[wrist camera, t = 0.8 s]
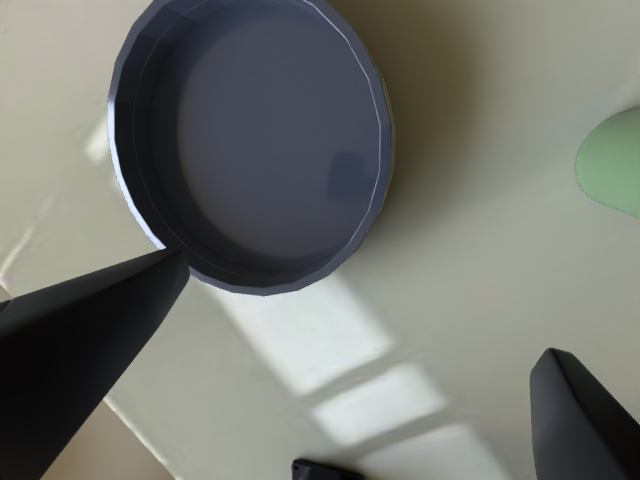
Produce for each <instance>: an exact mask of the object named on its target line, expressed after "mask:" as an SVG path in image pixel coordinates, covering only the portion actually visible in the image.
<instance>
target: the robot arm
mask: <svg viewBox="0 0 640 480" xmlns="http://www.w3.org/2000/svg"><path fill="white" fill-rule="evenodd" d="M189 277H190V271H189V266H188V261H187V256H186V253H185V252H184V251H183V250H181V249H178V248H174V247H167V248H164V249H161V250H158V251H155V252H152V253H149V254H146V255H143V256H140V257H137V258H134V259H131V260H128V261H125V262H122V263H119V264H116V265H113V266H110V267H107V268H104V269H101V270H98V271H95V272H92V273H89V274H86V275H82V276H79V277H76V278H73V279H70V280H67V281H64V282H61V283H58V284H55V285H52V286H49V287H46V288H43V289H40V290H37V291H34V292H31V293H28V294H25V295H22V296H19V297H16V298H14V299H12V300H7V301H4V302H1V303H0V480H40V479H41V477H42V476H43V475H44V473H45V472H46V471H47V470H48V468H49V467H50V466H51V465H52V463H53V462H54V461H55V459H56V458H57V457H58V456H59V454H60V453H61V452H62V450H63V449H64V448H65V447H66V445H67V444H68V443H69V442H70V440H71V439H72V437H73V436H74V435H75V434H76V433H77V431H78V430H79V429H80V427H81V426H82V425H83V424H84V422H85V421H86V420H87V418H88V417H89V416H90V415H91V413H92V412H93V411H94V410H95V408H96V407H97V406H98V404H99V403H100V402H101V401H102V399H103V398H104V397H105V396H106V394H107V393H108V392H109V390H110V389H111V388H112V387H113V385H114V384H115V383H116V382H117V380H118V379H119V378H120V376H121V375H122V374H123V373H124V371H125V370H126V369H127V367H128V366H129V365H130V364H131V362H132V361H133V360H134V359H135V357H136V356H137V355H138V353H139V352H140V351H141V350H142V348H143V347H144V346H145V344H146V343H147V342H148V341H149V339H150V338H151V337H152V336H153V334H154V333H155V332H156V330H157V329H158V328H159V326H160V325H161V323H162V322H163V320H164V319H165V317H166V316H167V314H168V312H169V311H170V309H171V308H172V306H173V305H174V303H175V301H176V300H177V298H178V297H179V295H180V293H181V292H182V290H183V289H184V287H185V286H186V284H187V282H188V280H189ZM530 399H531V423H532V444H533V455H534V462H535V469H536V475H537V480H640V425H639V424H638V423H637V422H636V420H635V419H634V418H633V417H632V416H631V415H630V414H629V413H628V412H627V411H626V410H625V409H624V408H623V407H622V406H621V405H620V403H619V402H618V401H617V400H616V399H615V398H614V397H613V396H612V395H611V394H610V393H609V392H608V391H607V390H606V389H605V388H604V386H603V385H602V384H601V383H600V382H599V381H598V380H597V379H596V378H595V377H594V376H593V375H592V374H591V373H590V372H589V371H588V369H587V368H586V367H585V366H584V365H583V364H582V363H581V362H580V361H579V360H578V359H577V358H576V357H575V356H574V355H573V354H572V353H570V352H567V351H563V350H559V349H555V348H548V349H546V350H545V352H544V353H543V355H542V356H541V357H540V359H539V360H538V362H537V363H536V365H535V366H534V368H533V369H532V371H531V375H530ZM291 468H292V480H364V478H363V477H362V476H361V475H358V474H354V473H350V472H346V471H342V470H338V469H334V468H330V467H326V466H322V465H318V464H314V463H310V462H306V461H302V460H297V459H296V460H294V461H293V463H292V466H291Z"/></svg>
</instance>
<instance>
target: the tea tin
mask: <svg viewBox="0 0 640 480" xmlns="http://www.w3.org/2000/svg"><path fill="white" fill-rule="evenodd" d="M575 171H576V177H577V181H578V183H579V185H580V187H581V189H582V190H583V191H584V192H585V194H586V195H588V196H589V197H590V198H591V199H593V200H594V201H596V202H598V203H600V204H603V205H605V206H608V207H611V208H613V209H616V210H619V211H621V212H624V213H626V214H629V215H632V216H634V217H637V218H640V108H636V109H631V110H628V111H624V112H621V113H619V114H617V115H614V116H612V117H611V118H609V119H607V120H605V121H604V122H603V123H601V124H600V125H599V126H597V127H596V128H595V129H594V130H593V131H592V132H591V133H590V134H589V135H588V137H587V138H586V139H585V141H584V142H583V144H582V146H581V147H580V150H579V152H578V155H577V159H576V165H575Z"/></svg>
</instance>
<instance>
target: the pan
mask: <svg viewBox="0 0 640 480" xmlns="http://www.w3.org/2000/svg"><path fill="white" fill-rule="evenodd" d="M107 114H108V138H109V139H108V141H109V146H110V151H111V155H112V160H113V165H114V170H115V174H116V177H117V180H118V182H119V184H120V187H121V189H122V192H123V194H124V196H125V199H126V201H127V204H128V206H129V208H130V210H131V212H132V213H133V215H134V216H135V218H136V219H137V221H138V222H139V224H140V225H141V227H142V228H143V230H144V231H145V233H146V234H147V236H148V237H149V239H150V240H151V241H152V242H153V243H154V244H155V245H156V246H157V247H158V248H159V249H160V250H161V249H164V248H167V247H174V248H178V249H181V250H183V251H184V252H185V253H186V256H187V261H188V266H189V271H190V274H191V275H192V276H194V277H195V278H197V279H198V280H200V281H202V282H204V283H207V284H210V285H212V286H215V287H218V288H220V289H223V290H226V291H229V292H231V293H238V294H247V295H257V296H269V295H275V294H281V293H287V292H293V291H298V290H300V289H302V288H304V287H306V286H309V285H311V284H313V283H315V282H317V281H319V280H321V279H323V278H325V277H327V276H329V275H330V274H331V273H332V272H333V271H335V270H336V269H337V268H338V267H339V266H340V265H341V264H342V263H343V262H344V261H346V260H347V259H348V258H349V257H350V256H351V255H352V254H353V253H354V252H355V251H356V250H357V249H358V247H359V246H360V244H361V242H362V241H363V239H364V238H365V236H366V234H367V233H368V231H369V229H370V228H371V226H372V225H373V223H374V221H375V220H376V218H377V216H378V215H379V213H380V211H381V209H382V208H383V205H384V203H385V199H386V196H387V193H388V190H389V187H390V183H391V179H392V176H393V172H394V167H395V152H396V126H395V125H396V124H395V120H394V116H393V110H392V105H391V102H390V98H389V95H388V90H387V86H386V84H385V81H384V79H383V77H382V75H381V73H380V71H379V70H378V68H377V66H376V64H375V62H374V60H373V59H372V57H371V55H370V53H369V51H368V49H367V47H366V46H365V44H364V42H363V41H362V39H361V38H360V36H359V35H358V33H357V31H356V30H355V29H354V27H353V26H352V25H351V24H350V23H349V22H348V21H347V20H346V19H345V18H344V17H343V16H342V15H341V14H340V13H339V12H338V11H337V10H336V9H335V8H334V7H333V6H332V5H331V4H330V3H329V2H328V1H327V0H153V2H152V3H151V4H150V5H149V6H148V7H147V9H146V10H145V11H144V12H143V13H142V14H141V16H140V17H139V18H138V19H137V20H136V21H135V22H134V24H133V26H132V27H131V29H130V31H129V33H128V35H127V37H126V40H125V42H124V44H123V46H122V48H121V50H120V52H119V54H118V57H117V59H116V62H115V66H114V70H113V75H112V80H111V85H110V90H109V95H108V100H107Z"/></svg>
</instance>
